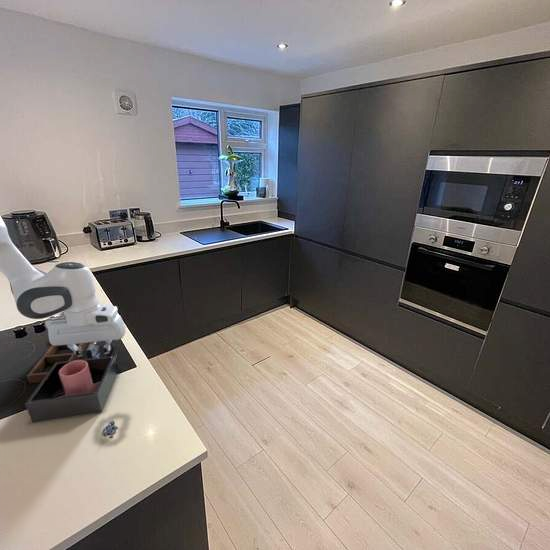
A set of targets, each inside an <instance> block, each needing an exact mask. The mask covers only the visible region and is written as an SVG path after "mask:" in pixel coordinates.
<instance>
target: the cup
mask: <svg viewBox="0 0 550 550" xmlns="http://www.w3.org/2000/svg"><path fill="white" fill-rule="evenodd" d="M59 376H60V379H61V386H62V388H63V391H64V395H65V397H66V396H74V395H81V394H89V393H95V392H96V390H95V385H94V382H93V378H92V377H93V376H91V373H90V370H89V366H88V362H86V361H83V360H78V361H73V362H70V363H68V364H66V365H64V366H63V367H62V368H61V369H60V370H59Z"/></svg>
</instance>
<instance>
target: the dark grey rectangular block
mask: <svg viewBox="0 0 550 550" xmlns="http://www.w3.org/2000/svg"><path fill="white" fill-rule="evenodd" d="M89 343H90V344H89V345H87V347H88V348H87V350H86V352H87V356H88V359H90V358H94V357H95V355H96V353H97V352H98V350H99V349H98V346H99V345H98V342H89Z"/></svg>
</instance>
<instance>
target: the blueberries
mask: <svg viewBox="0 0 550 550" xmlns="http://www.w3.org/2000/svg"><path fill="white" fill-rule="evenodd" d="M118 429H119V427H118V426H117V425H115V421H114V420H111V421H110V422H108V423H107V424H106V426H105V427H104V428H102V435H103V437H108V436H109V437H108V439H113V438H114V435H115V434H116V433H117V430H118Z"/></svg>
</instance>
